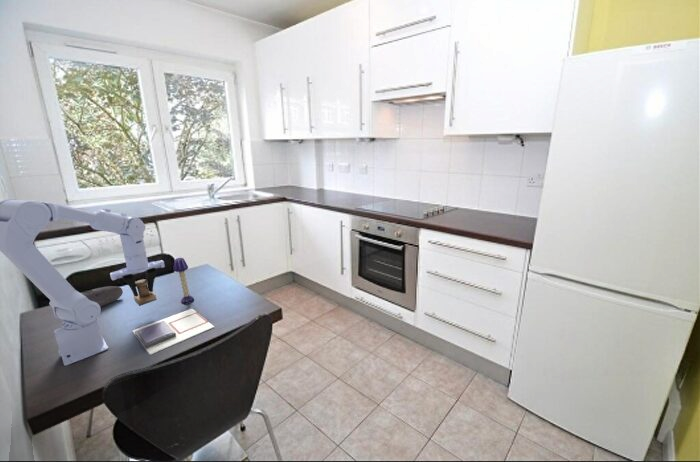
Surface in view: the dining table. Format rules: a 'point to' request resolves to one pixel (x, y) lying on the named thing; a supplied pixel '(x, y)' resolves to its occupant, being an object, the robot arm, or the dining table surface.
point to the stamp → (144, 293)
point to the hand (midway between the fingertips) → (143, 293)
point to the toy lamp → (183, 279)
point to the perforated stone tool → (104, 295)
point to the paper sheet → (180, 328)
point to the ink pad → (155, 334)
